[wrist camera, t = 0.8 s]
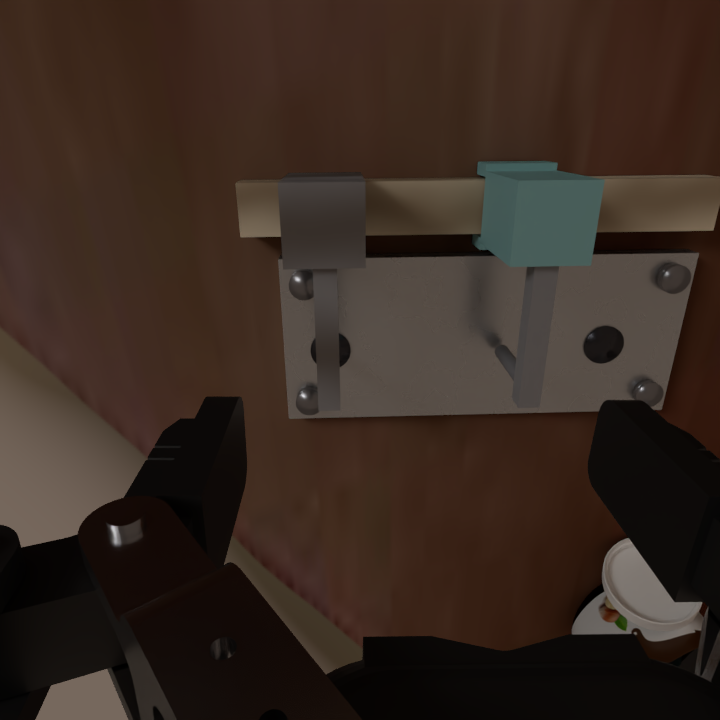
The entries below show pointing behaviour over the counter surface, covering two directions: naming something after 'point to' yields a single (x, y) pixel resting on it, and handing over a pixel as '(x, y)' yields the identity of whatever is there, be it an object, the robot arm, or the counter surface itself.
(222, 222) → the counter surface
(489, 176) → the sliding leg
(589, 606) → the spread jar
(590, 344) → the bolt plate
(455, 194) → the rail
